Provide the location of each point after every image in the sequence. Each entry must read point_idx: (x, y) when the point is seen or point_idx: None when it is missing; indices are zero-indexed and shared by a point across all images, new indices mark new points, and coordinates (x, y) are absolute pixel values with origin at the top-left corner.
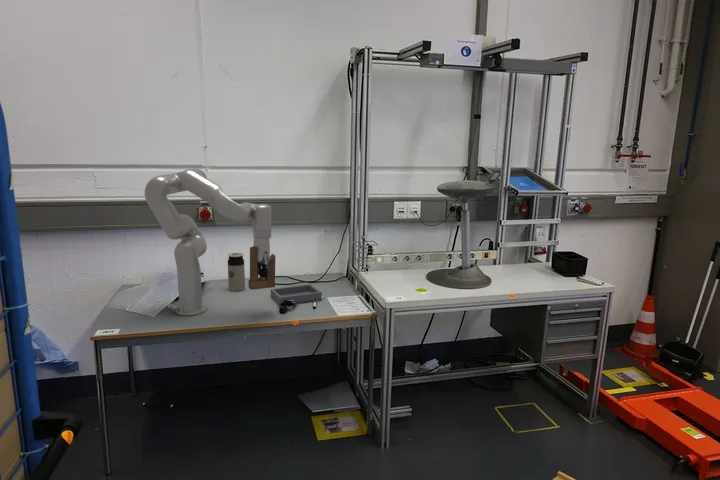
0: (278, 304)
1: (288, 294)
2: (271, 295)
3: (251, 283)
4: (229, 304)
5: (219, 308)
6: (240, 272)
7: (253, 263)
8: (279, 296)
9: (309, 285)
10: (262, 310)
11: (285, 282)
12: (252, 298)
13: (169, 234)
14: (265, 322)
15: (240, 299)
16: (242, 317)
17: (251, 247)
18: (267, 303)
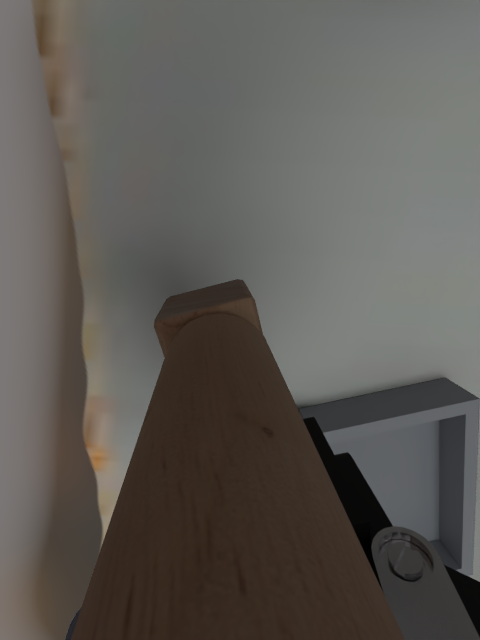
0: (322, 405)
1: (432, 458)
2: (441, 386)
3: (155, 320)
4: (416, 153)
5: (368, 85)
6: None
7: (79, 619)
8: (337, 434)
9: (457, 567)
10: (265, 326)
11: None
12: (463, 289)
13: None
14: (86, 329)
15: (474, 223)
16: (182, 217)
17: None
18: (360, 356)
